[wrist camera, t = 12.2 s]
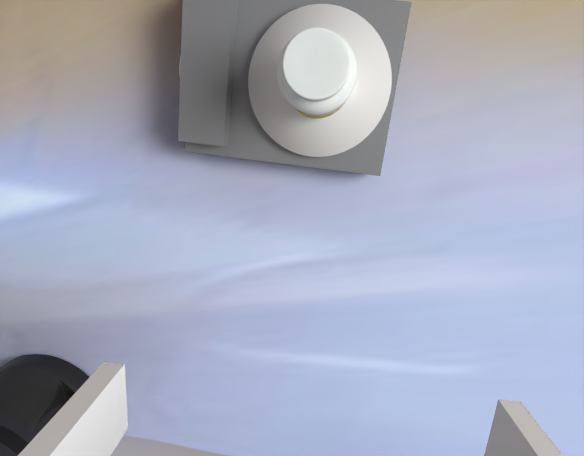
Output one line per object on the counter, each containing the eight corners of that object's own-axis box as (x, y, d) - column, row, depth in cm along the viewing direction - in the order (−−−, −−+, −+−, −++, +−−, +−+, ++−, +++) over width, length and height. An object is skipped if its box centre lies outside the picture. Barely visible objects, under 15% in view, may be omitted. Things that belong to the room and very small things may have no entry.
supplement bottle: (353, 113, 31) (366, 105, 22) (290, 123, 32) (278, 119, 22) (345, 45, 30) (357, 5, 20) (281, 56, 30) (263, 23, 21)
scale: (191, 149, 37) (172, 151, 32) (197, -9, 33) (177, -31, 28) (375, 172, 36) (383, 178, 31) (403, 13, 32) (417, -7, 28)
